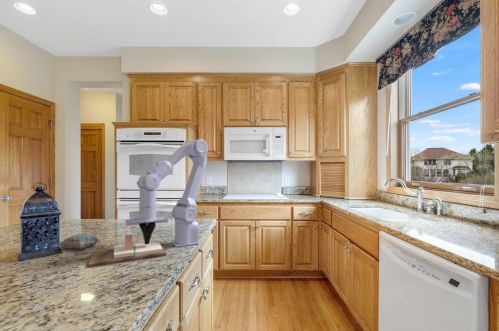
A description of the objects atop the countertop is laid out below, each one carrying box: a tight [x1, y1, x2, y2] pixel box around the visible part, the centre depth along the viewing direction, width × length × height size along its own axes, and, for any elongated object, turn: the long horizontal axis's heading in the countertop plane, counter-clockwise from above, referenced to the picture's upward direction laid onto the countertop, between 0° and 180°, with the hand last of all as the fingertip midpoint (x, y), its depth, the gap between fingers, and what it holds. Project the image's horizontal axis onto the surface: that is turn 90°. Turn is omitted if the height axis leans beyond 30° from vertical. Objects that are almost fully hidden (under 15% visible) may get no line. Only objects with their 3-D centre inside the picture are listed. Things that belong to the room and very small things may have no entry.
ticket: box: [132, 240, 164, 256], centre depth 90 cm, size 9×11×1 cm
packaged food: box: [59, 233, 101, 250], centre depth 94 cm, size 9×12×5 cm
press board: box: [88, 242, 167, 268], centre depth 87 cm, size 23×14×1 cm, turn 119°
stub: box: [113, 234, 134, 258], centre depth 86 cm, size 6×11×5 cm, turn 29°
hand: (146, 243), depth 89 cm, fingers closed
